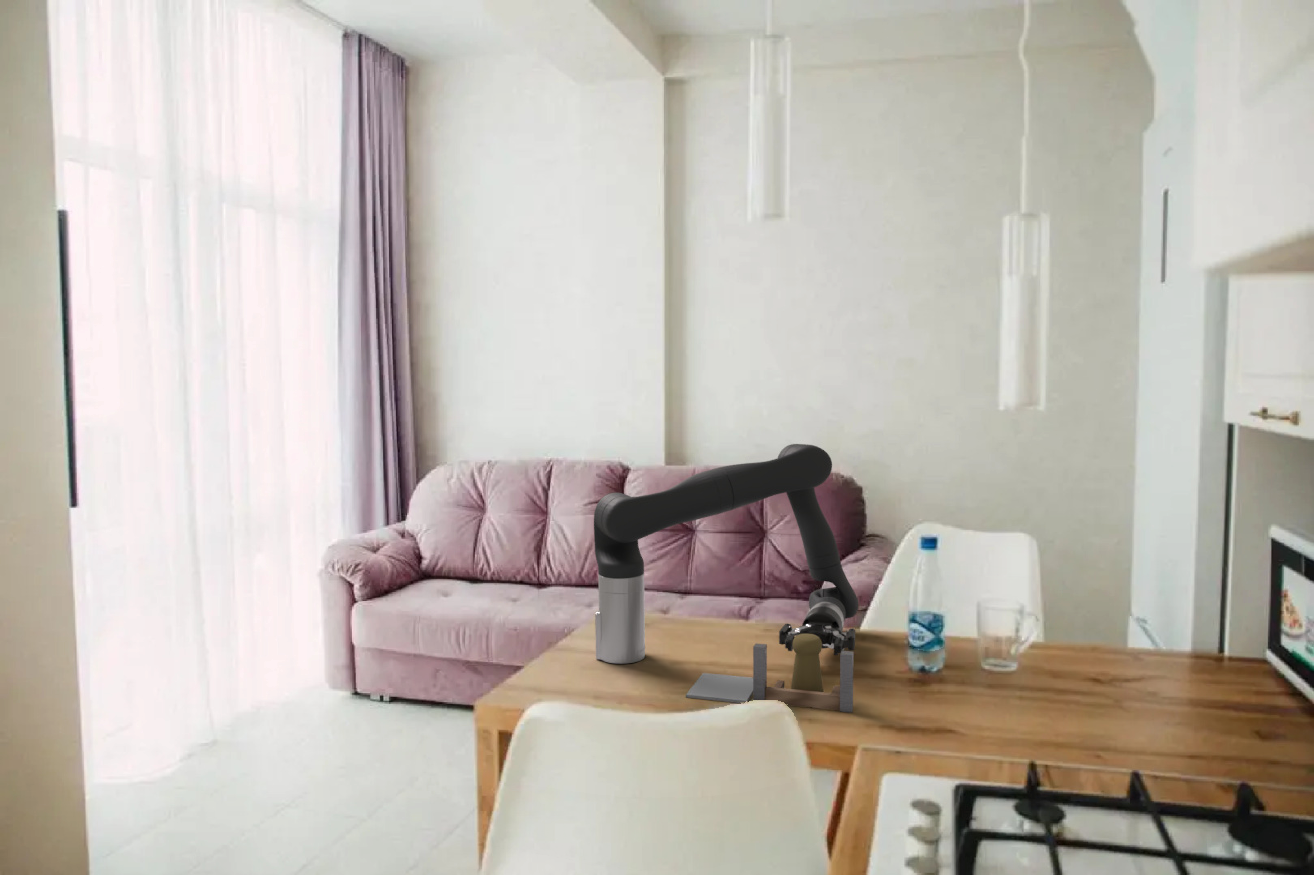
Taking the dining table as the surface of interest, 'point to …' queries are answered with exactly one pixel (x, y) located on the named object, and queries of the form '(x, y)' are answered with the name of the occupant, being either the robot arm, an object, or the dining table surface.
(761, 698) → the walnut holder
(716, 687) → the grey rubber mat
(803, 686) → the cork
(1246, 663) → the dining table surface
